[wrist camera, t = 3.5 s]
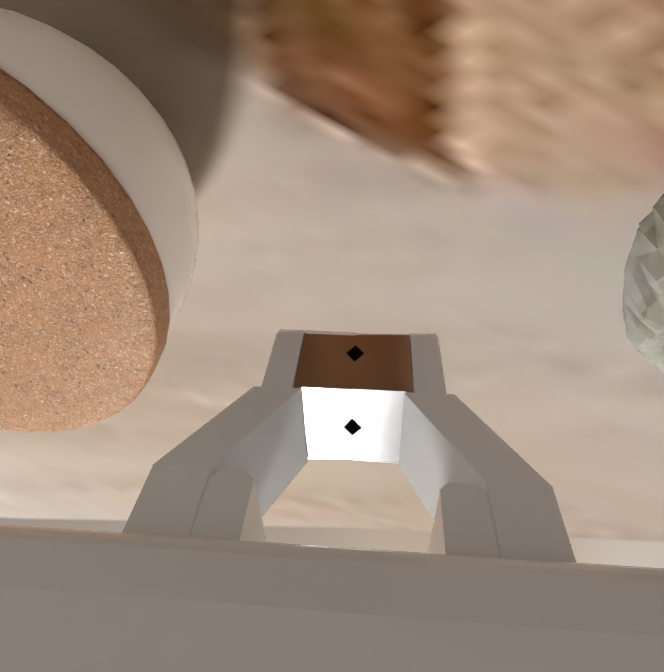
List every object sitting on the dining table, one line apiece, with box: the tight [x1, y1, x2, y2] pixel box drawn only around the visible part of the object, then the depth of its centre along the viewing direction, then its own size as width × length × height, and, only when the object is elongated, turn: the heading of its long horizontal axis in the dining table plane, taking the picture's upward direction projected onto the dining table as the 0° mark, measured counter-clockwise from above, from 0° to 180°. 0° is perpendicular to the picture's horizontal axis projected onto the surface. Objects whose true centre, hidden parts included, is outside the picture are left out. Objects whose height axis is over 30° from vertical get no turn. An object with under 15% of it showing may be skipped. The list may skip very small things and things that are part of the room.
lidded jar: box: [0, 8, 199, 432], centre depth 13 cm, size 11×11×9 cm
